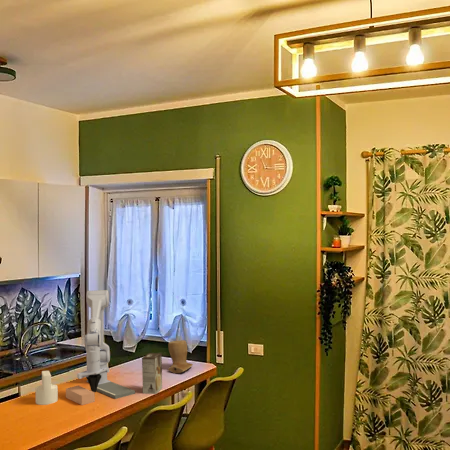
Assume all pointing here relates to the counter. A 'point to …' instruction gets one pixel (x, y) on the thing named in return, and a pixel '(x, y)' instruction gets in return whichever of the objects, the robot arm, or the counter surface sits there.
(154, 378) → the coffee box
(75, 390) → the tan rectangular block
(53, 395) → the base with upright slab
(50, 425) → the counter surface
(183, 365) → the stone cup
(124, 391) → the board
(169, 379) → the counter surface
